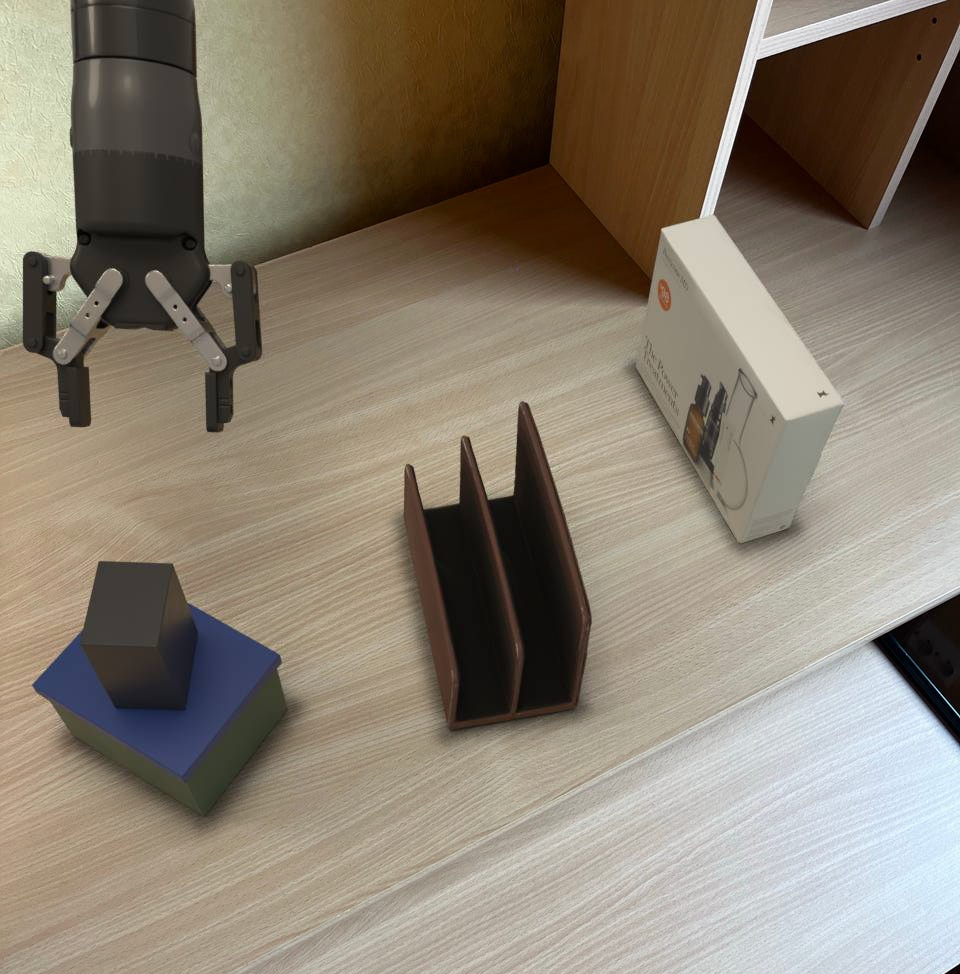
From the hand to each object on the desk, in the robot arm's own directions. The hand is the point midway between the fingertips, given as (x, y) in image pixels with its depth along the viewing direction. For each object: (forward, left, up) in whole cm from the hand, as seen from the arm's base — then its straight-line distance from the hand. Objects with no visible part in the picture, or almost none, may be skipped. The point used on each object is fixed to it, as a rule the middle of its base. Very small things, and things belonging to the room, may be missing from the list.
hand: (147, 429), depth 70 cm
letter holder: (+20, +10, -19) cm, 30 cm away
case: (+6, -10, -11) cm, 16 cm away
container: (+6, -10, -19) cm, 22 cm away
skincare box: (+28, +35, -19) cm, 49 cm away
